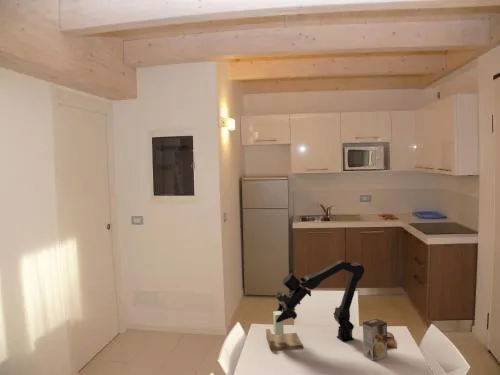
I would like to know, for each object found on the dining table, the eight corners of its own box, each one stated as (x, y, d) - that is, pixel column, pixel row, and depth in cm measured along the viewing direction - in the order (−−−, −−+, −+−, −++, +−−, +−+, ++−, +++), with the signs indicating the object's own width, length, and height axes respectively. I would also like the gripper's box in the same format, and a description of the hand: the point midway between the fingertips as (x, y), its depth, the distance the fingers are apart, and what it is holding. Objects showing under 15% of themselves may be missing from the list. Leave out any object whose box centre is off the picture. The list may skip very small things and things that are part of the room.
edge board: (296, 335, 203) (296, 327, 203) (302, 347, 189) (302, 338, 189) (266, 337, 202) (266, 329, 202) (270, 350, 188) (270, 341, 188)
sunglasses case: (398, 349, 186) (390, 336, 187) (385, 355, 187) (377, 343, 188) (392, 333, 204) (385, 322, 204) (380, 339, 205) (373, 328, 206)
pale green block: (281, 330, 196) (281, 310, 196) (283, 334, 191) (283, 314, 191) (273, 330, 196) (273, 311, 195) (275, 335, 191) (275, 315, 190)
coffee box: (377, 351, 185) (377, 317, 184) (387, 356, 179) (387, 322, 178) (362, 355, 181) (362, 321, 180) (372, 361, 175) (372, 326, 174)
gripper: (281, 280, 202) (260, 303, 201) (289, 291, 184) (267, 316, 183) (296, 294, 204) (276, 316, 203) (306, 307, 185) (284, 331, 184)
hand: (275, 319), depth 193 cm, fingers closed on pale green block, 5 cm apart
